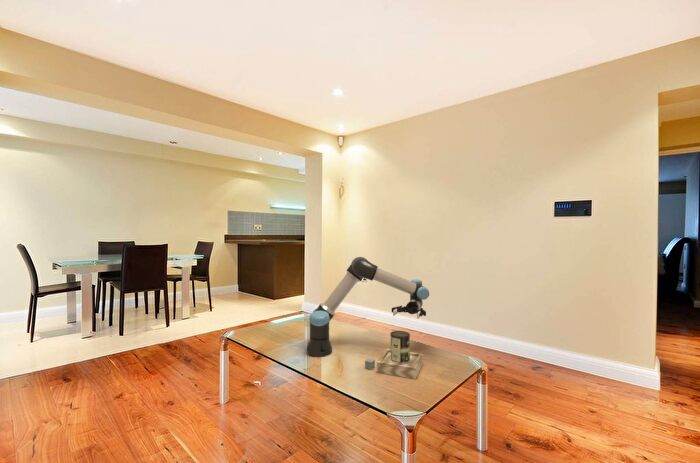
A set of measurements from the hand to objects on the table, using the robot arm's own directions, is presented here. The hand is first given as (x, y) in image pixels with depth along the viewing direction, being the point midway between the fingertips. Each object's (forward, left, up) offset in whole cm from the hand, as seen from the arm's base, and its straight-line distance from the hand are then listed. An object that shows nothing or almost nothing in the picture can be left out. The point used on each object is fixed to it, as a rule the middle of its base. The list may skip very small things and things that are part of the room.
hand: (405, 314), depth 177 cm
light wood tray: (0, -11, -25) cm, 28 cm away
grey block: (-15, -17, -26) cm, 34 cm away
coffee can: (-1, -11, -22) cm, 24 cm away
